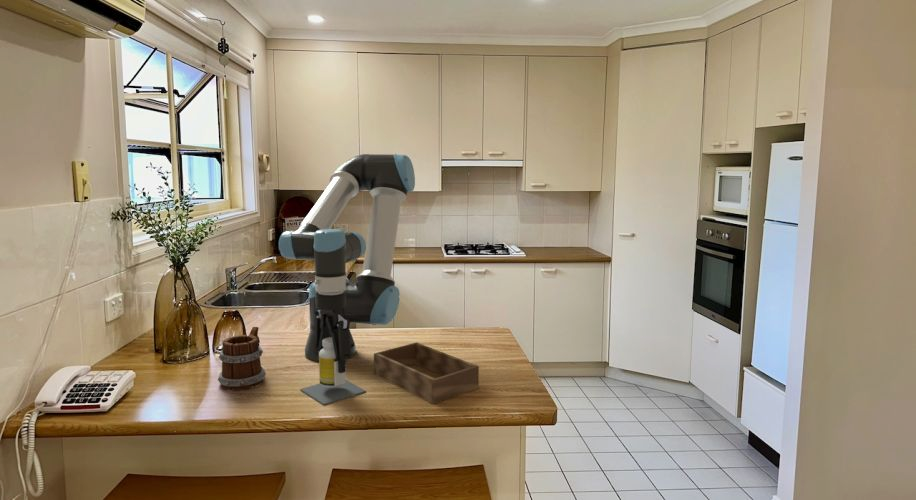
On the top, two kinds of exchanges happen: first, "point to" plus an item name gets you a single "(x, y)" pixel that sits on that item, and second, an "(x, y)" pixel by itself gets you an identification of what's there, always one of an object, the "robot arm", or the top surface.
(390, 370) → the box frame
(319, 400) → the slate mat
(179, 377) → the top surface
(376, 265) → the robot arm
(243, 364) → the mug
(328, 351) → the pill bottle
